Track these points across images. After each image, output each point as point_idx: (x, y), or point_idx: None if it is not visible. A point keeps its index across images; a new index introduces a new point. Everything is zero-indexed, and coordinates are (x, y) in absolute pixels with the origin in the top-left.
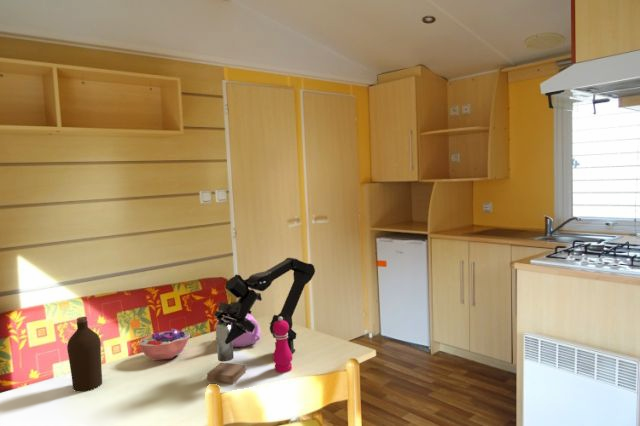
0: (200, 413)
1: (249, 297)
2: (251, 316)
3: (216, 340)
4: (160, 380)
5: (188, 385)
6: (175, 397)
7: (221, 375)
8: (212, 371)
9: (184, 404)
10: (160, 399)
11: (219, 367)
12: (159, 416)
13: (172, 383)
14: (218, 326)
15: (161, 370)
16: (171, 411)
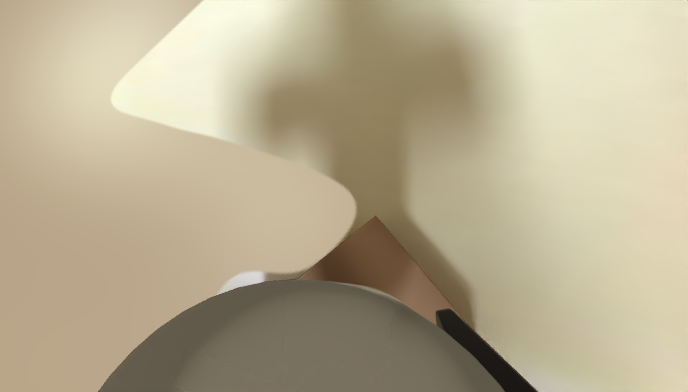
0: (138, 113)
1: None
2: None
3: (376, 289)
4: (539, 59)
5: (399, 142)
6: (321, 74)
7: (304, 274)
8: (385, 251)
9: (241, 87)
10: (345, 29)
11: (415, 309)
12: (223, 7)
13: (469, 93)
14: (238, 338)
15: (676, 84)
16: (226, 42)
